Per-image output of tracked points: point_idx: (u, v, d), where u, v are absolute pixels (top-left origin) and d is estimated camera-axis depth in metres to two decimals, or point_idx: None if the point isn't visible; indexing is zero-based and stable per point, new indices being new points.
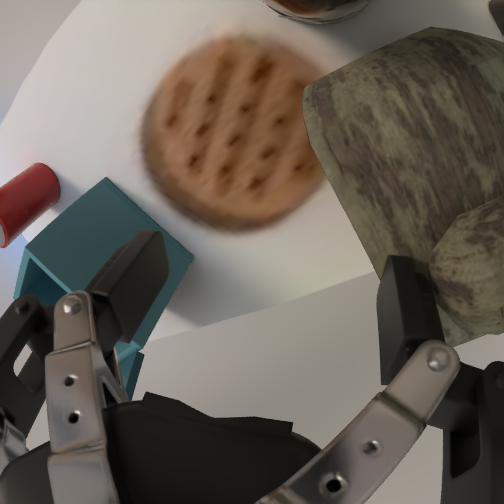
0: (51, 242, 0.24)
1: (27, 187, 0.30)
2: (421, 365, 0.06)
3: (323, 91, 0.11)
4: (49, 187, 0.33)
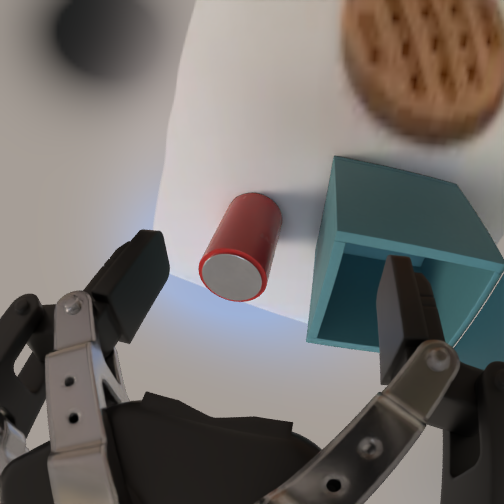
0: (356, 215, 0.21)
1: (250, 215, 0.31)
2: (421, 365, 0.06)
3: None
4: (271, 209, 0.33)
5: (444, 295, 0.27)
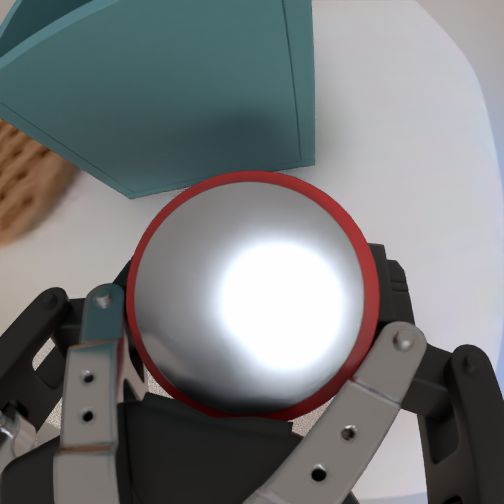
0: None
1: None
2: (387, 347, 0.07)
3: None
4: None
5: None
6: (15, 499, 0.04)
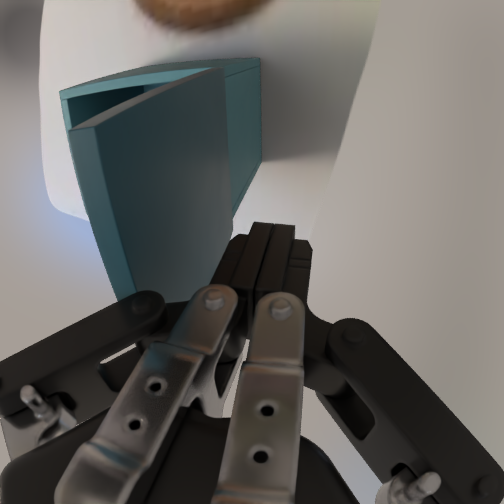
0: (88, 82, 0.21)
1: None
2: (267, 321, 0.08)
3: None
4: None
5: None
6: (14, 491, 0.04)
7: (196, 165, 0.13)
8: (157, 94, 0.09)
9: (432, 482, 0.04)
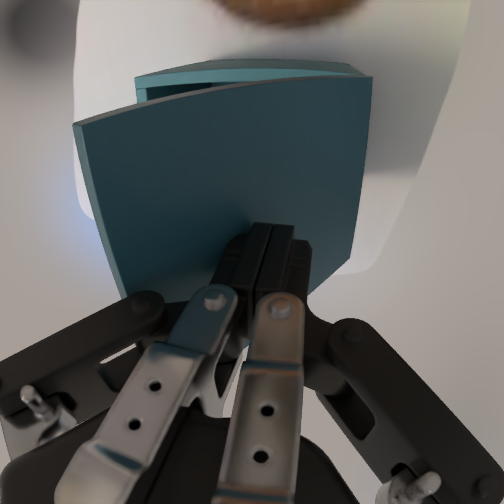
0: (169, 70, 0.19)
1: None
2: (267, 321, 0.08)
3: None
4: None
5: None
6: (14, 492, 0.04)
7: (282, 178, 0.12)
8: (207, 92, 0.08)
9: (432, 482, 0.04)
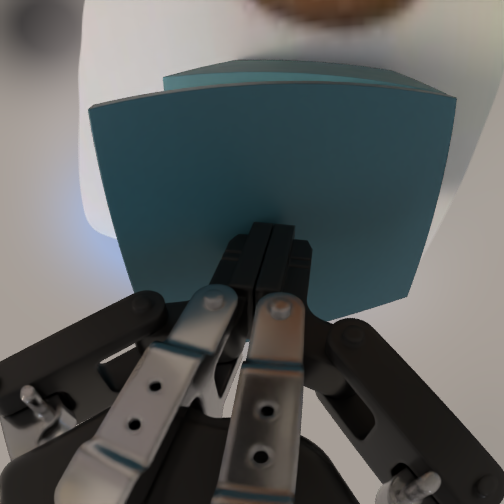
0: (204, 70, 0.15)
1: None
2: (267, 321, 0.08)
3: None
4: None
5: None
6: (14, 491, 0.04)
7: (306, 185, 0.11)
8: (209, 88, 0.09)
9: (432, 482, 0.04)
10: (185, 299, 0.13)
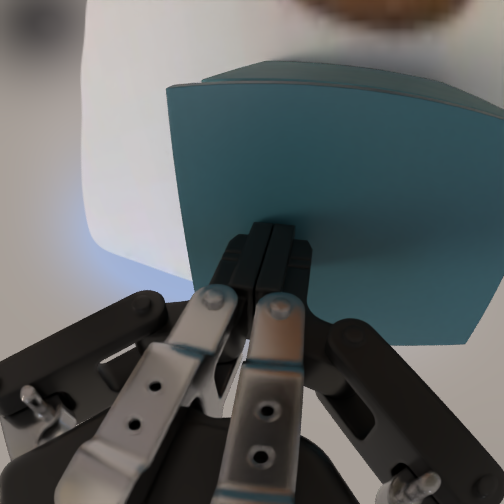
0: (252, 72, 0.12)
1: None
2: (267, 321, 0.08)
3: None
4: None
5: None
6: (14, 492, 0.04)
7: (372, 198, 0.11)
8: (280, 84, 0.09)
9: (432, 482, 0.04)
10: None
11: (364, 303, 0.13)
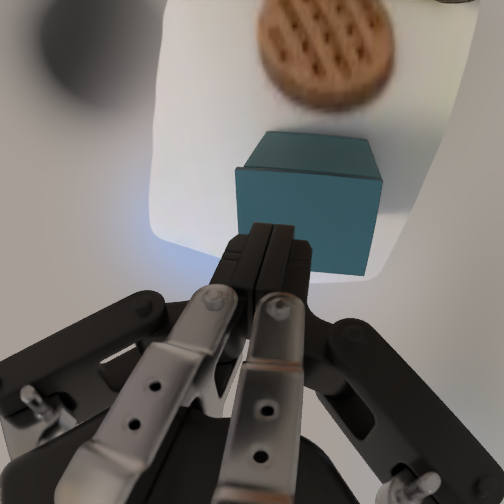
0: (261, 158, 0.33)
1: None
2: (267, 321, 0.08)
3: None
4: None
5: None
6: (14, 491, 0.04)
7: (304, 208, 0.32)
8: (272, 171, 0.30)
9: (432, 482, 0.04)
10: None
11: None
